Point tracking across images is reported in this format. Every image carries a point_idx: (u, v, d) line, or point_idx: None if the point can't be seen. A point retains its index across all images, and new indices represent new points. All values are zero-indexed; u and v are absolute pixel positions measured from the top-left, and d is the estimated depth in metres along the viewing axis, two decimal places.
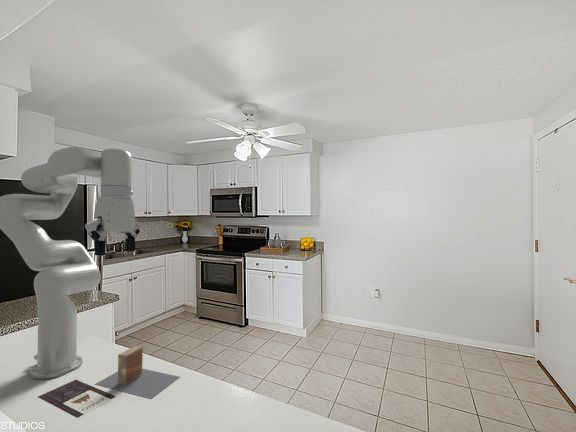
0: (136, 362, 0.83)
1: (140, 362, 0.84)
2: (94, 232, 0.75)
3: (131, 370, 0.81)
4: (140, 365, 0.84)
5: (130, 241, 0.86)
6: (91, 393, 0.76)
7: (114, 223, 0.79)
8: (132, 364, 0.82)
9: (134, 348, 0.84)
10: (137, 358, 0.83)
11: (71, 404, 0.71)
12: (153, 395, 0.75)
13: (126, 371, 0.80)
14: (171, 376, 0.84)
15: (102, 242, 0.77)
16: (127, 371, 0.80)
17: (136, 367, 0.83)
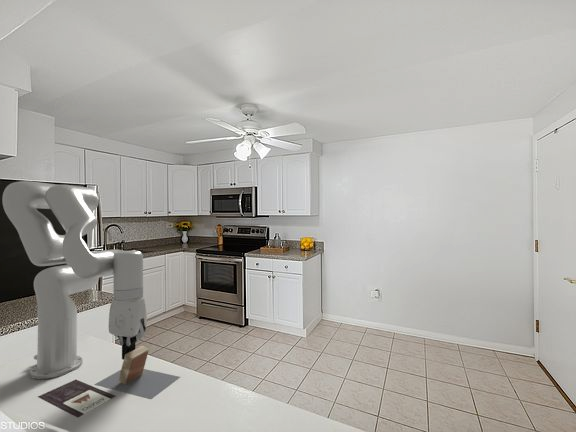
0: (140, 364, 0.82)
1: (143, 363, 0.84)
2: None
3: (133, 371, 0.81)
4: (142, 366, 0.84)
5: None
6: (91, 393, 0.76)
7: None
8: (136, 366, 0.81)
9: (141, 349, 0.83)
10: (141, 360, 0.83)
11: (71, 404, 0.71)
12: (153, 395, 0.75)
13: (128, 372, 0.79)
14: (171, 376, 0.84)
15: None
16: (130, 373, 0.80)
17: (139, 368, 0.83)
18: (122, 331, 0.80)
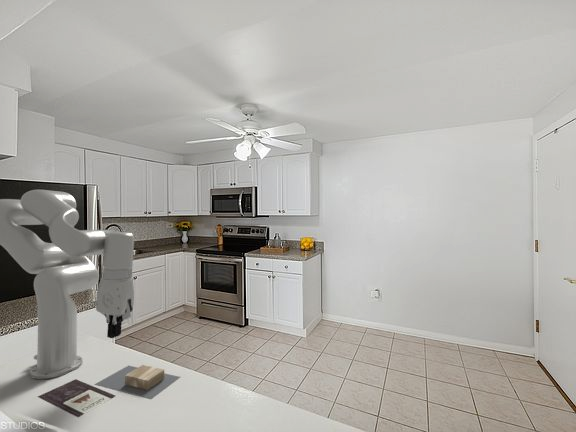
0: None
1: None
2: None
3: None
4: None
5: None
6: (91, 393, 0.76)
7: None
8: None
9: (160, 376, 0.81)
10: None
11: (71, 404, 0.71)
12: (153, 395, 0.75)
13: None
14: (171, 376, 0.84)
15: None
16: None
17: None
18: (109, 310, 0.82)
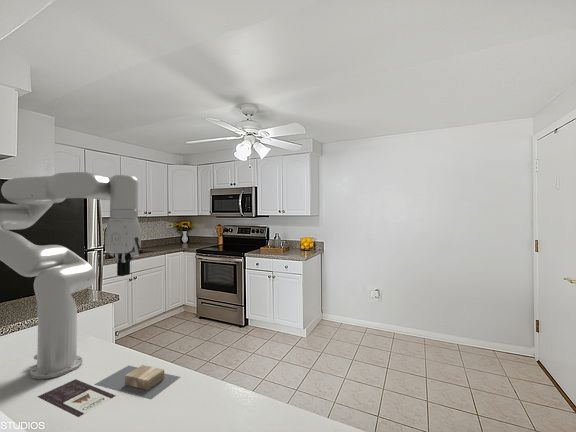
0: None
1: None
2: None
3: None
4: None
5: None
6: (91, 393, 0.76)
7: None
8: None
9: (160, 376, 0.81)
10: None
11: (71, 403, 0.71)
12: (153, 395, 0.75)
13: None
14: (171, 376, 0.84)
15: None
16: None
17: None
18: (117, 248, 0.86)
